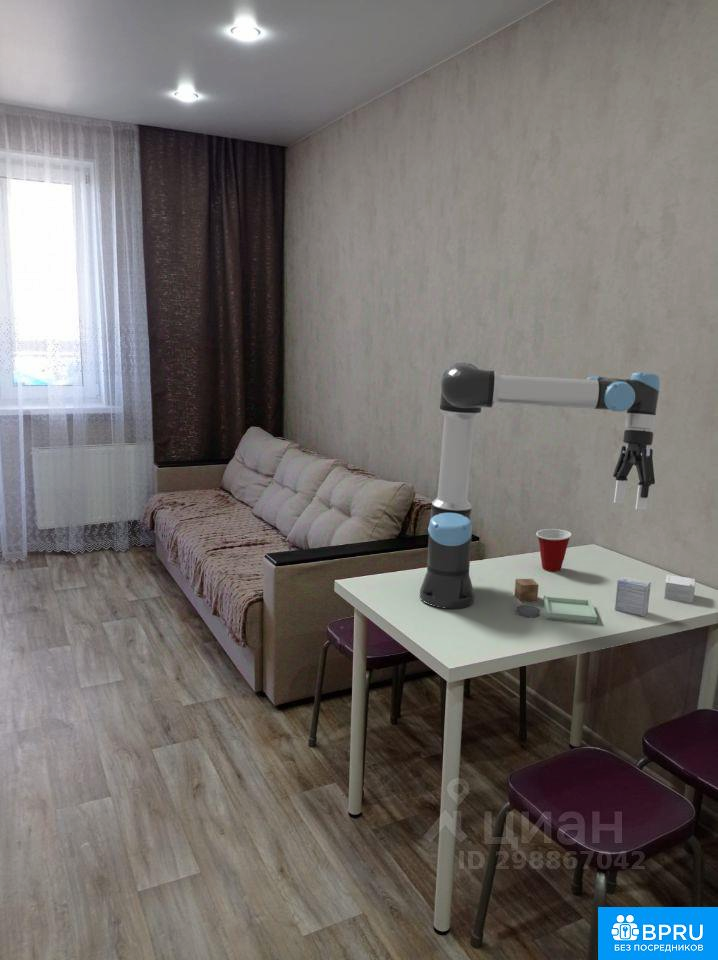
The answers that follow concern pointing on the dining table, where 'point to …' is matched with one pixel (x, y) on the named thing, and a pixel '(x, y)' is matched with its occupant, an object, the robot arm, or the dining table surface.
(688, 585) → the small box
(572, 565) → the dining table surface
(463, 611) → the dining table surface
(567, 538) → the plastic cup
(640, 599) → the medicine box
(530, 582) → the walnut cube
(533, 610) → the dark grey pebble
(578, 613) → the tray
